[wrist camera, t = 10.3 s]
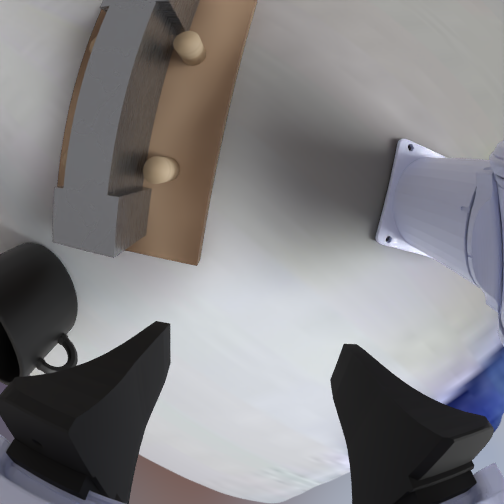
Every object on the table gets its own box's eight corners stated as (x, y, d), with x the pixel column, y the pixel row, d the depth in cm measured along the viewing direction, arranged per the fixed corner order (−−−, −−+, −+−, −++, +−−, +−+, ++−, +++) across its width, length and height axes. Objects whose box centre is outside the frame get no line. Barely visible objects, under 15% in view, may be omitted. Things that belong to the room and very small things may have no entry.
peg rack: (256, 2, 15) (257, -24, 11) (199, 260, 20) (189, 279, 17) (113, 2, 14) (95, -17, 11) (63, 230, 20) (37, 241, 16)
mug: (82, 364, 24) (40, 423, 15) (4, 289, 22) (-49, 327, 13) (117, 308, 22) (62, 374, 13) (25, 220, 20) (-47, 249, 11)
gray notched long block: (143, 2, 13) (118, -30, 9) (199, 1, 14) (185, -38, 9) (92, 224, 18) (52, 242, 14) (146, 235, 19) (114, 257, 14)
